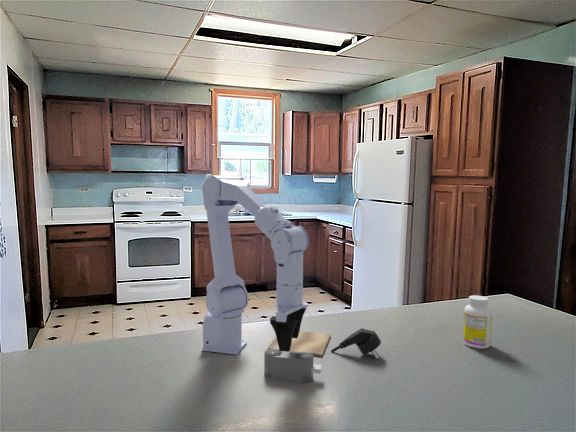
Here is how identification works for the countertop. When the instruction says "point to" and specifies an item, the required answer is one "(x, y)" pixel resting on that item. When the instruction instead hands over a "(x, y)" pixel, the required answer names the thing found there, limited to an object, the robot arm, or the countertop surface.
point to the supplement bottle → (477, 323)
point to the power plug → (362, 342)
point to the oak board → (307, 343)
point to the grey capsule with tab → (290, 365)
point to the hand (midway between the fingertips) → (289, 343)
